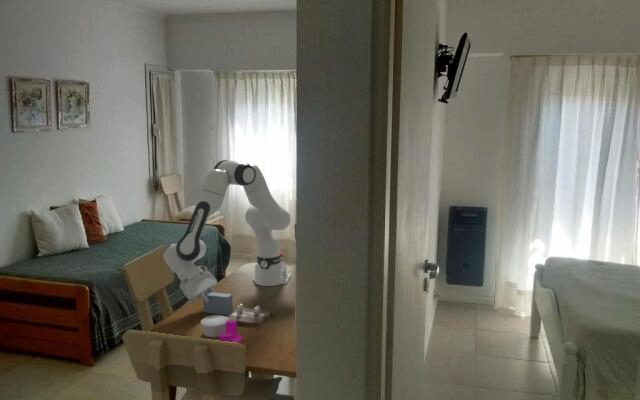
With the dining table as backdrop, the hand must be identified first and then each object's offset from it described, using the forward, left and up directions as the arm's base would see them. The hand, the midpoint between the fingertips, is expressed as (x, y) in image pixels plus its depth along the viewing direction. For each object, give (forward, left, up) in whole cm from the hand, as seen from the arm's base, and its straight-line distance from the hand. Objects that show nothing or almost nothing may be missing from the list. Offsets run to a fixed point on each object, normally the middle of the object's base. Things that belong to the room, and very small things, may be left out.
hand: (212, 299), depth 231 cm
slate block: (0, +3, -5) cm, 6 cm away
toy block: (+29, +25, -6) cm, 39 cm away
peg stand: (+3, +19, -5) cm, 20 cm away
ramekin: (+20, +13, -6) cm, 24 cm away
